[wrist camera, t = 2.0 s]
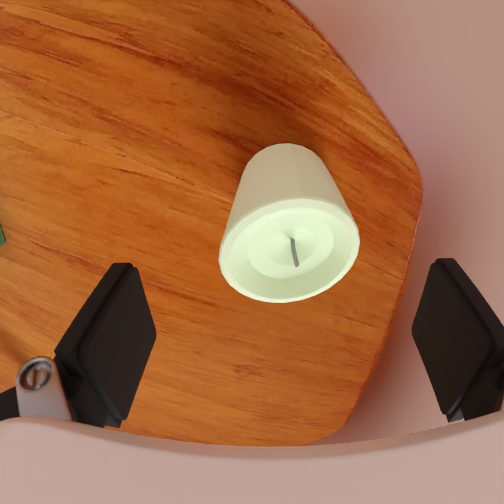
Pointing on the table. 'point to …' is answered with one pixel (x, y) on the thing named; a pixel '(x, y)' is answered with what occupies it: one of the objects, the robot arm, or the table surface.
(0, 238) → the foam
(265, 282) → the candle
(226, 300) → the table surface
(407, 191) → the table surface
